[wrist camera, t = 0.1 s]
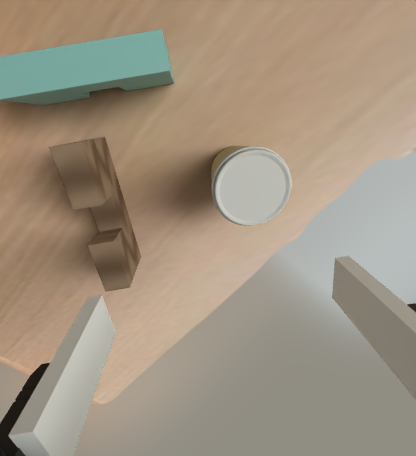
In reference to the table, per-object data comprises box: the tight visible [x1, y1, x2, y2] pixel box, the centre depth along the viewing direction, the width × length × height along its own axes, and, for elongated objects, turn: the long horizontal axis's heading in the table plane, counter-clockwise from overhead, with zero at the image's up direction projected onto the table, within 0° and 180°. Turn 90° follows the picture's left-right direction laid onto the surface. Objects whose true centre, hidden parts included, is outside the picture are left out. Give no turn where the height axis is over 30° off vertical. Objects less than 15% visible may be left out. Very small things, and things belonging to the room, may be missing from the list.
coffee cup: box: [211, 146, 291, 226], centre depth 34 cm, size 9×9×12 cm
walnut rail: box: [49, 137, 141, 291], centre depth 36 cm, size 20×4×9 cm, turn 9°
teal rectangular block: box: [0, 29, 174, 105], centre depth 29 cm, size 4×18×9 cm, turn 99°
